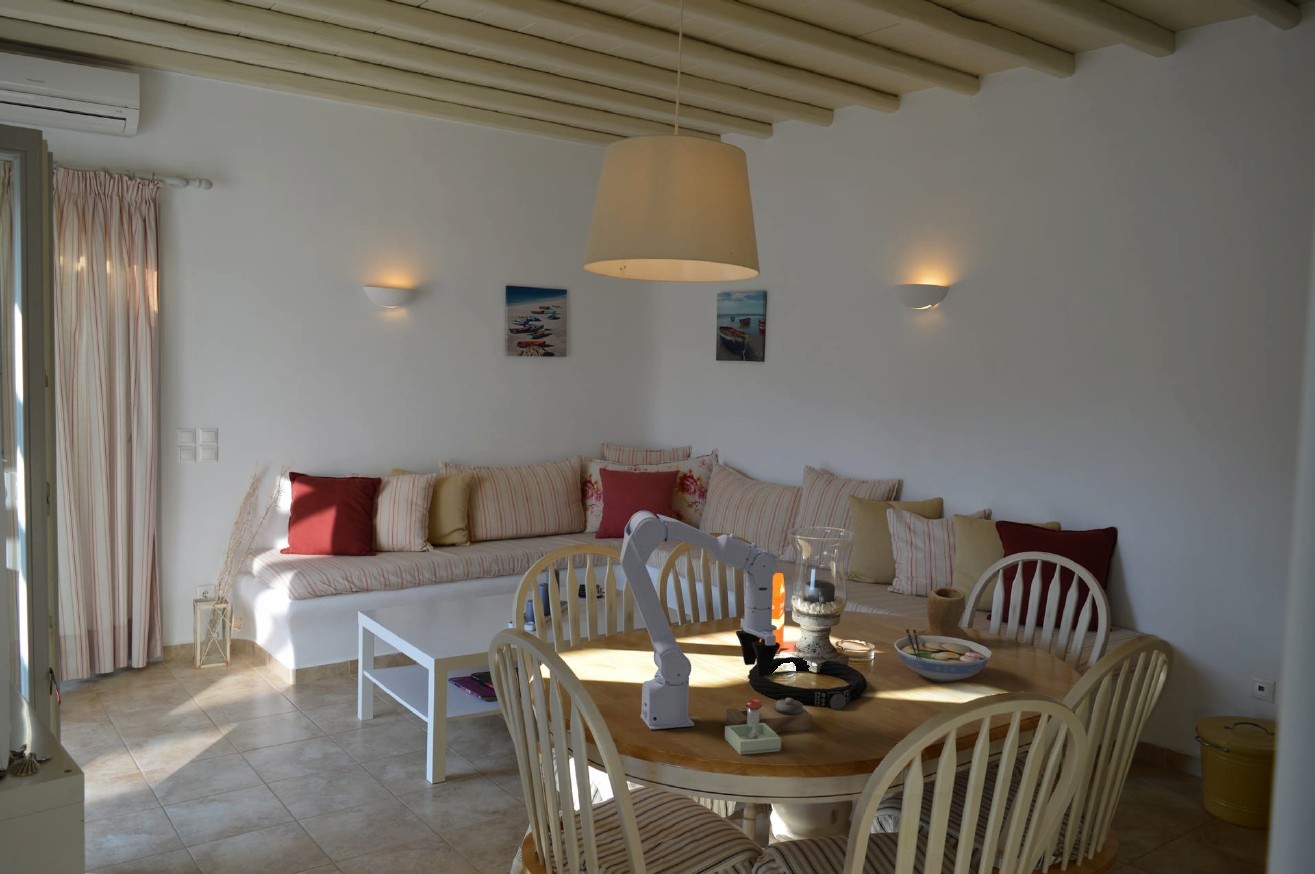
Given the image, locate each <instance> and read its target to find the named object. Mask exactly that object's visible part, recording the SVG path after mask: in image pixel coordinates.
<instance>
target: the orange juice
mask: <svg viewBox="0 0 1315 874" xmlns="http://www.w3.org/2000/svg"><path fill="white" fill-rule="evenodd" d="M785 590H786V589H785V581H784V573H782V572H781V573H780V572H776V574H775V575H774V576H773V600H772V625H775V626H776V627H777V630H773V633H774V635H775V636H776V642H778V643H779V644H780V648H779V650H778V651H777V653H778V652H779V651H780V649H781V648H782V647H783V645H784V633H785V632H784V628H785V627H784V626H785V605H786V604H785V602H786V601H785V600H786V599H785V597H786V591H785ZM759 642H761V639H760V641H759Z"/></svg>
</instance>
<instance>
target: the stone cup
mask: <svg viewBox="0 0 1315 874" xmlns="http://www.w3.org/2000/svg"><path fill="white" fill-rule="evenodd" d="M965 609H966V596H965V594H964V593H963V592H962V591H961V590H959V589H957V588H954V587H949V586H939V587H935V588H934V589H932V590H931V591H930V592H929V594H928V597H927V602H926V613H927V618H928V624H929V625H928V629H925V630H921V631H919V632H916V635H917V636H943V637H951V638H958V639H963V640H967V639H968V638H969V633H968V632H966V631H965V630H964V629H963V628H962V627H961V626H960V625H959V624H960V622H961V619H962V617H963V616H962V615H964V614H963V613H964V611H965Z"/></svg>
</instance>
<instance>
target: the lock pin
mask: <svg viewBox="0 0 1315 874" xmlns="http://www.w3.org/2000/svg"><path fill="white" fill-rule="evenodd" d="M762 704H763V703H762V701H761V700H759V699H754V698H753V699H748V700H746V701H745V707H746V708H747V734H746V740H750V739H759V717H760V708H761V706H763V705H762Z"/></svg>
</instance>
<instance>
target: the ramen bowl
mask: <svg viewBox="0 0 1315 874" xmlns="http://www.w3.org/2000/svg"><path fill="white" fill-rule="evenodd" d="M905 632H906V635H907V636H905V637H903V638H900V639H899V638H898V639H897V640H896V641H895V642H894V644H893V645H894V648H895V650H896V652H897V654H898V656H899V657H900V659H901V660H902V662H904V664H905V665H906V667H908V668H909V669H910V670H911V671H913V672H915V673H917V674H918V675H920V676H923V677H925V678H926V679H928V680H930V681H933V682H938V683H953V682H957V681H959V680H964V679H968V678H970V677H973V676H974V675H976V674H978V673H979V672H981V671H982V670H983V669H984V667H985V666H986V665H988V662H989V660H990V658H991V657H992V653H993V651H992V650H990V649H989V648H988V647H987V646H984V645H982V644H979V643H978V642H975V641H971V640H968V639H958V638H951V637H943V636H917V635H916V633H917V630H916V629H913V630H912V632H913V636H911V632H910V630H909V629H908V628H906V629H905Z"/></svg>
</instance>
